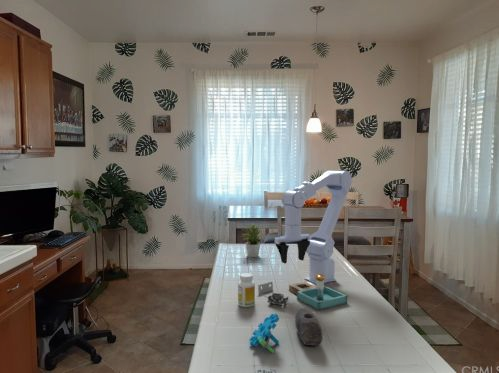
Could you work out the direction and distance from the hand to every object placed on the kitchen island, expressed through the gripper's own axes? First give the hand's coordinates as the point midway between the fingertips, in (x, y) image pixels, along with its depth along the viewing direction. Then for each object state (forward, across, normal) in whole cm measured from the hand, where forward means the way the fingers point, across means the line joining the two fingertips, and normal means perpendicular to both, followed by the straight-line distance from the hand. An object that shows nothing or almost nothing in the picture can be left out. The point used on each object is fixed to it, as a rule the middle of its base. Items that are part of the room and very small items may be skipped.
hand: (292, 261), depth 135 cm
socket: (+10, -1, +5) cm, 11 cm away
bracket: (+11, +10, +2) cm, 15 cm away
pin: (+9, -1, +14) cm, 17 cm away
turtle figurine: (+11, +12, +14) cm, 21 cm away
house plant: (+10, -10, -47) cm, 49 cm away
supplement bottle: (+10, +22, +5) cm, 25 cm away
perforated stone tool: (+10, +19, +32) cm, 38 cm away
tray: (+10, -1, +15) cm, 18 cm away
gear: (+10, +31, +30) cm, 44 cm away
